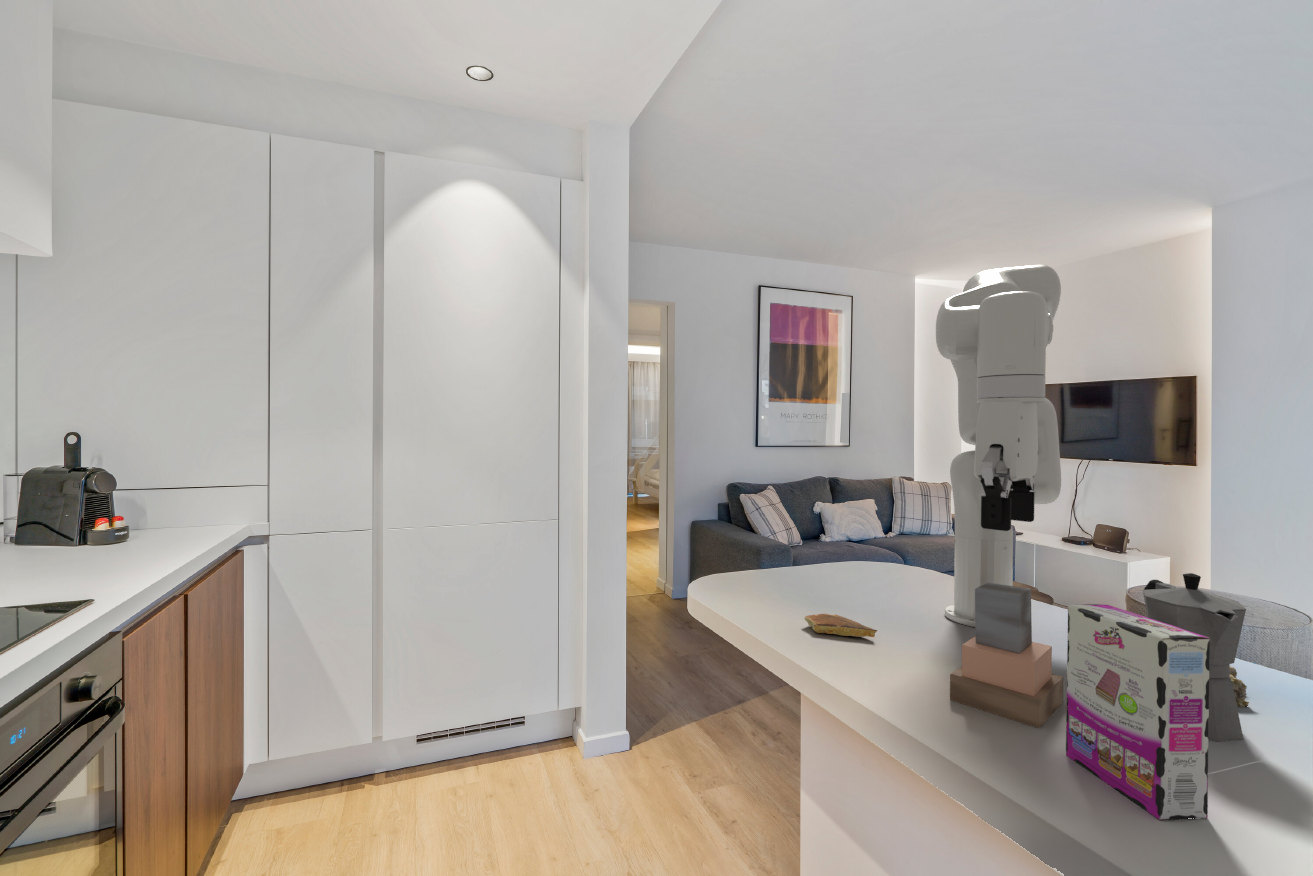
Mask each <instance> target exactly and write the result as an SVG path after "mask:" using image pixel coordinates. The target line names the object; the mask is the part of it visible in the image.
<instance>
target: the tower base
mask: <svg viewBox="0 0 1313 876" xmlns="http://www.w3.org/2000/svg"><path fill="white" fill-rule="evenodd" d="M949 700H950V701H951V702H955V703H958V704H963V705H965V706H967V707H971V708H974V709H978V710H980V711H984V712H987V713H989V714H993V715H996V716H999V717H1002V718H1005V719H1007V720H1011V721H1015V722H1018V723H1021V724H1023V725H1028V726H1030V727H1033V728H1035V729H1041V727H1043V725H1044V724H1045V723H1046V722H1047V721H1048V720H1049V719H1050V717H1052V715H1053V714H1054V713H1055V712H1056V711H1057V710H1058V709H1059V708H1060V706H1061V705H1063V704H1064V676H1062V675H1058V674H1054V673H1052V678H1051V679H1050V680H1049V681H1048V682H1047V683H1046V684H1045V685H1044V686H1043V687H1042V688H1041V689H1040V690H1039V691H1038V692H1037V694H1036V695H1035V696H1031V695H1028V694H1024V693H1021V692H1017V691H1014V690H1010V689H1006V688H1003V687H999V686H996V685H992V684H989V683H985V682H982V681H978V680H975V679H971V678H967V677H964V676H962V665H961V666H960V667H958V668H957V669H955V670H953V671H952V672H950V673H949Z"/></svg>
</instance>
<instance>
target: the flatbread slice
mask: <svg viewBox="0 0 1313 876" xmlns="http://www.w3.org/2000/svg"><path fill="white" fill-rule="evenodd" d="M804 620H805V621H806V623H807V624H808V626H810V627H811V629H812V630H813V631H814V632H815V633H817V634H827V635H838V636H841V637H842V636H844V637H849V636H850V637H856V638H857V637H858V638H862V637H863V638H864V637H866V638H867V637H869V638H875V636H876V633H877V632H878V629H874V628H871V627H870V626H866V625H864V624H862V623H859V622H857V621H854V620H853V619H849V618H847V617H844V616H841V615H838V614H829V613H819V614H818V613H816V614H811V615H809V614H808V615H806V616H804Z"/></svg>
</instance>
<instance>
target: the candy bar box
mask: <svg viewBox="0 0 1313 876" xmlns="http://www.w3.org/2000/svg"><path fill="white" fill-rule="evenodd" d="M1066 650H1067V653H1066V656H1067V657H1066V658H1067V659H1066V660H1067V661H1066V719H1065V720H1066V721H1065V723H1066V724H1065V726H1066V727H1065V733H1066V735H1065V755H1066V757H1068V758H1069V759H1070V760H1072V761H1074V763H1076V764H1078V765H1079V766H1080V767H1082V768H1084V770H1087V771H1088V772H1090V773H1091V774H1092V775H1093V776H1095V777H1096V778H1098V779H1100V780H1101V781H1103V782H1104V783H1105V784H1106V785H1109V786H1110V787H1111V788H1113V789H1115V791H1116V792H1118V793H1120V795H1122V796H1124V797H1125V798H1127V799H1129V800H1130V801H1131V802H1133V803H1134V804H1136V805H1137V806H1138V807H1140V808H1141V809H1143V811H1146V812H1147V813H1148V814H1150V815H1152V816H1153V817H1155V818H1156V819H1157V820H1159V821H1165V822H1167V820H1169V821H1183V820H1182V819H1187V820H1189V819H1188V818H1192V819H1191V820H1196V819H1195V818H1207V819H1208V818H1209V816H1208V813H1209V812H1208V808H1209V807H1208V806H1209V805H1208V804H1209V802H1208V800H1209V799H1208V798H1209V797H1208V796H1209V791H1208V790H1209V785H1208V784H1209V783H1208V782H1209V740H1208V718H1209V655H1210V638H1209V637H1205V636H1202V635H1199V634H1196V633H1193V632H1190V631H1187V630H1184V629H1181V628H1178V627H1175V626H1172V625H1169V624H1166V623H1163V622H1160V621H1157V620H1153V619H1150V618H1147V616H1143V615H1141V614H1138V613H1135V612H1131V611H1128V610H1125V609H1122V608H1119V607H1116V606H1113V605H1109V604H1099V603H1097V604H1096V603H1094V604H1093V603H1087V604H1068V605H1067V648H1066ZM1193 818H1194V819H1193ZM1179 819H1181V820H1179Z"/></svg>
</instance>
